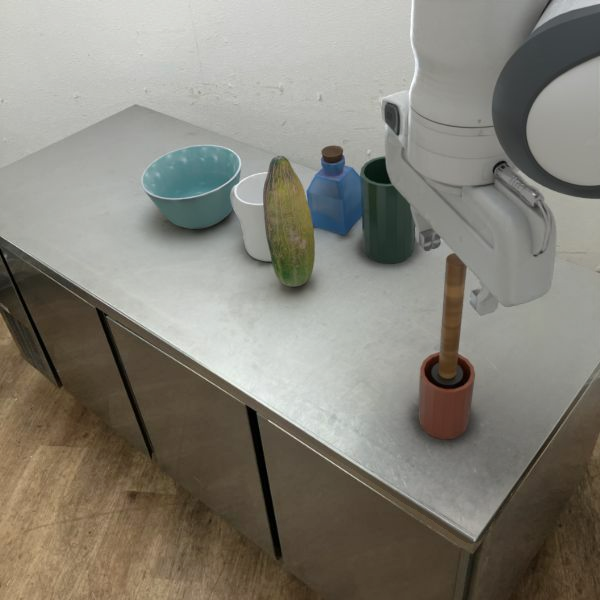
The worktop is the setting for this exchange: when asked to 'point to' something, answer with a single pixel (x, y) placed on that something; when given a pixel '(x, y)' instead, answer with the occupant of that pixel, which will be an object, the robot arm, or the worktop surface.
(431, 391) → the holder
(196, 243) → the worktop surface
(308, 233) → the vegetable
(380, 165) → the cup
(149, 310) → the worktop surface
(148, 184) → the bowl
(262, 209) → the mug
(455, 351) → the wooden dowel rod
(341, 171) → the perfume bottle
